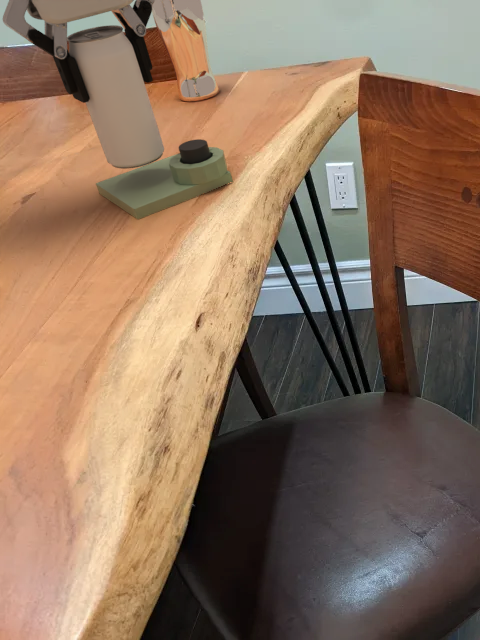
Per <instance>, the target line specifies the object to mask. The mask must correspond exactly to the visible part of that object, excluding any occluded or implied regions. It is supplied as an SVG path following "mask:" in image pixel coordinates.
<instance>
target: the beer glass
mask: <svg viewBox="0 0 480 640" xmlns="http://www.w3.org/2000/svg"><path fill="white" fill-rule="evenodd" d="M151 15H152V18H153V20H154V25H155V27H156V29H157V31H158V34H159V37H160V39H161V42H162V43H163V46H164V48H165V50H166V52H167V55H168V57H169V60H170V62H171V64H172V67H173V70H174V74H175V77H176V78H175V79H176V83H177V85H176V86H177V93H178V98H179V100H180V101H183V102H189V103H190V102H199V101H204V100H208V99H211V98H213V97H216V96H217V95H218V94H219V93H220V88H219V85H218V83H217V80H216V78H215V75H214V73H213V70H212V66H211V62H210V57H209V48H208V38H207V37H208V36H207V28H206V21H205V14H204V9H203V5H202V0H155V1H154V4H153V5H152V12H151Z"/></svg>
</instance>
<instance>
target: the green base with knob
mask: <svg viewBox="0 0 480 640" xmlns="http://www.w3.org/2000/svg"><path fill="white" fill-rule="evenodd" d="M208 147H209V151H210V155H211V158H210V159H208V160H206V161H204V162H201V163H196V164H183V161H182V158H181V155H180V152H179V153H176V154H173V155H171V156H168V157H164V158H161V159H158V160H156V161H154V162H152V163H150V164H147V165H144V166H141V167H136V168H133V169H131V170H128V171H126V172H123V173H120V174H117V175H115V176H111V177H109V178H106V179H104V180H101V181H99V182H95V187H96V188H97V189H96V190H97V191H98V193H99V195H101V196H102V197H103V198H105V199H107V200H108V201H110V202H111V203H112V204H114V205H115V206H117V207H118V208H120V209H121V210H123V211H125V212H126V213H127V214H129V215H131V216H132V217H134V218H135V219H136V220H141V219H143V218H146V217H149V216H150V215H155V214H156V213H158V212H161V211H164V210H166V209H169V208H171V207H174V206H176V205H179V204H181V203H185V202H187V201H189V200H192V199H194V198H197V197H200V196H202V195H204V194H203V193H205V194H207V193H209V191H210V192H212V191H214V190H213V189H215V190H217V189H219V188H218V187H220V188H222V187H221V186H223V185H225V184H228V183H230V182H233V183H234V180H233V176H232V173H231V171H229V170H228V164H227V163H228V162H227V160H226V155H225V152H224V151H225V150H224V149H221V148H219V147H215V146H208ZM230 184H231V183H230ZM228 185H229V184H228ZM225 186H226V185H225ZM223 187H224V186H223ZM216 188H217V189H216ZM211 190H212V191H211ZM201 194H202V195H201ZM199 195H200V196H199ZM196 196H197V197H196Z"/></svg>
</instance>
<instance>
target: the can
mask: <svg viewBox="0 0 480 640" xmlns="http://www.w3.org/2000/svg"><path fill="white" fill-rule="evenodd" d="M125 35H126V34H125V32H124V28H123V26H122V25H113V24H112V25H102V26H101V25H100V26H95V27H90V28H86V29H82V30H79V31H76V32H74V33H71V34H70V35H67V43H68V52H69V54H70V56H72V57H74V58H75V60H76V62H77V65H78V68H79V70H80V73H81V76H82V78H83V81H84V84H85V87H86V89H87V92H88V95H89V98H90V100H89V101H88V102H85V105H86V108H87V111H88V113H89V117H90V119H91V122H92V125H93V127H94V131H95V133H96V135H97V138H98V140H99V143H100V146H101V148H102V151H103V154H104V157H105V159H106V161H107V163H108V164H109V165H111V166H112V167H113V168H116V169H125V170H126V169H137V168H140V167H142V166H145V165H148V164H151V163H153V162H156V161H159V160H160V159H161V158H162V157H163V155H164V152H165V145H164V142H163V139H162V136H161V133H160V129H159V127H158V126H159V125H158V122H157V119H156V116H155V113H154V110H153V107H152V104H151V100H150V97H149V94H148V93H149V92H148V90H147V87H146V84H145V82H144V80H143V77H142V74H141V71H140V68H139V64H138V61H137V58H136V55H135V52H134V49H133V46H132V44H131V42H130V41H129V40H128V38H127V37H126V36H125Z"/></svg>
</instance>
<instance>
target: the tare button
mask: <svg viewBox="0 0 480 640" xmlns="http://www.w3.org/2000/svg"><path fill="white" fill-rule="evenodd" d="M209 147H210V146H209V144H208V141H207V140H205V139H199V138H198V139H191V140H187V141H185V142H182V143H180V144H179V146H178V151H179V153H180V155H181V158H182V161H183V164H196V163H201V162H204V161H206V160H208V159H210V158H211V155H210V151H209Z"/></svg>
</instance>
